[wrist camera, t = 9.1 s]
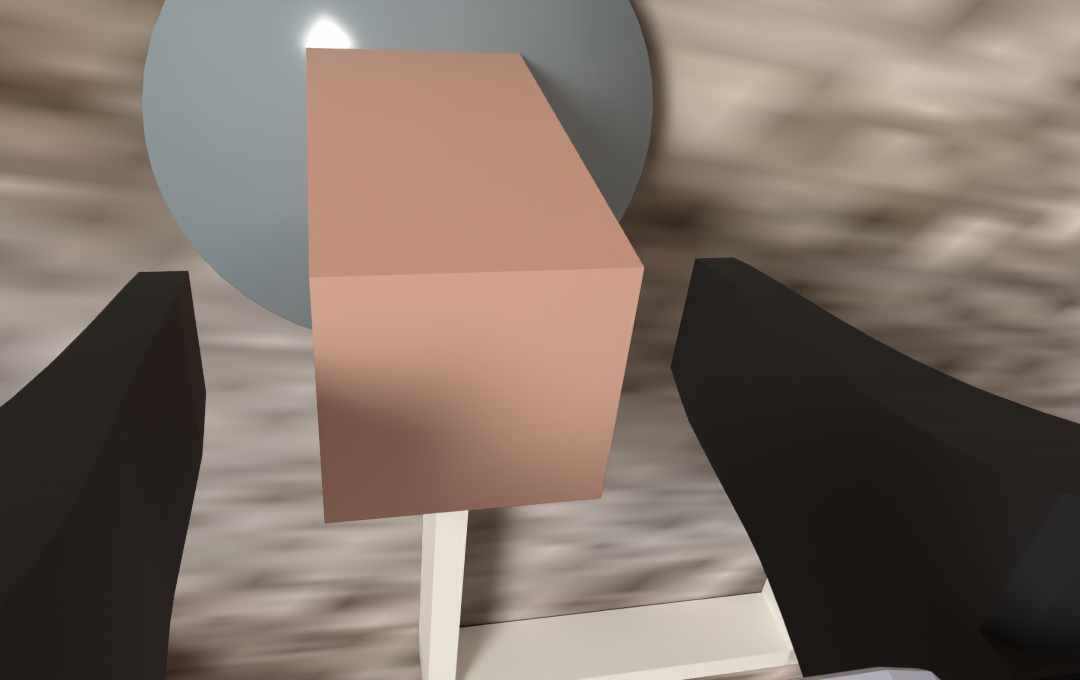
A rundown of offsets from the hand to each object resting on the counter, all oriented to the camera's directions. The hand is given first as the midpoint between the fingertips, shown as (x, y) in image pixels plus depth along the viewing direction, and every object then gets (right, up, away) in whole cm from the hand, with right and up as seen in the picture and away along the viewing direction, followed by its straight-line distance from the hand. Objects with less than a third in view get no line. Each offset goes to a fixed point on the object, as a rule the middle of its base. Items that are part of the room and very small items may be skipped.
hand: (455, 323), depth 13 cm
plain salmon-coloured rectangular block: (-1, +4, +5) cm, 6 cm away
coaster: (-2, +4, +6) cm, 7 cm away
